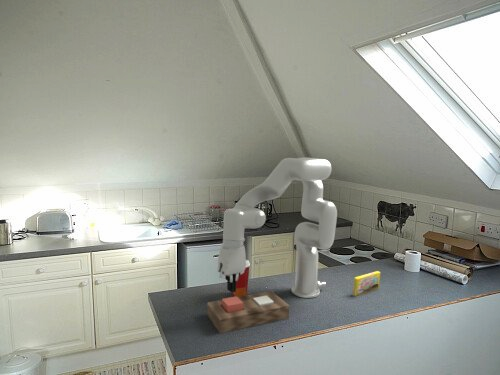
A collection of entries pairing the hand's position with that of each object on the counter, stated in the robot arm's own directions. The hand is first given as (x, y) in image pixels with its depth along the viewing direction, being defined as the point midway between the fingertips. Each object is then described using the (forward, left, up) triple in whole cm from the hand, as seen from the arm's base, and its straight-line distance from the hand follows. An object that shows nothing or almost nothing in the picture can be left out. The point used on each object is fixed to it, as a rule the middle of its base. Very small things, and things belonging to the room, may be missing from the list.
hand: (231, 290), depth 134 cm
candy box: (-66, 0, -12) cm, 67 cm away
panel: (-7, 0, -12) cm, 13 cm away
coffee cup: (-12, -19, -12) cm, 26 cm away
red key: (0, 0, -7) cm, 7 cm away
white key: (-13, 0, -9) cm, 16 cm away
